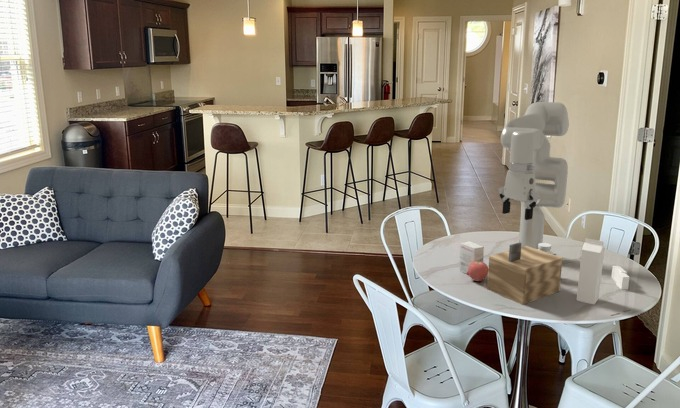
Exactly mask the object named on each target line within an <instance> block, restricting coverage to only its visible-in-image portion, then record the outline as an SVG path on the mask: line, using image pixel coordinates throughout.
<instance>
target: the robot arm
mask: <svg viewBox="0 0 680 408" xmlns="http://www.w3.org/2000/svg"><path fill="white" fill-rule="evenodd" d="M569 124H570V123H569V114H568V109H567V107H566V106H565V104H563V103H562V102H555V101H554V102H553V101H552V102H551V101H550V102H547V101H538V102H537V101H535V102H533V103H531V104H530V105H529V106H528V107H527V109H526V110H525V113H524V115H521V116H518V117H515V118H513V119H510V120H509V121H507V122H506V123H505V125H504V127H503V129H502V131H501V134H500V144H501V146H502V147H503V148H505V149H508V150H510V152H509V167H508V169H507V172H506V176H505V181H504V185H503V186H501V187H498V188H497V190H498V193H499V198H500V199H501V202H502V212H501V213H502V214H504V215H505V214H509V213H510V212H511V200H512V201H516V202H520V206H521V207H520V221H519V222H520V223H519V234H518V235H519V236H518V237H519V238H518V243H519V242H520V243H522V245H521V247H524V246H528V247H531V248H534V249H537V250H538V249H539V248H538V244H539V243H544V242H543V241H544V229H545V220H546V219H545V214H544V212H543V210H542V209H541V207H543V208H553V209H556V208H557V209H560V208H561V207H563V206H564V205H565V201H566V200H565V199H566V193H567V182H568V172H569V170H568V169H569V167H568V162H567V160H566V159H564V158H562V157H551V154H550V153H551V143H550V140H549V139H548V138H547V136H549V137H550V136H551V137H554V136H555V137H562V136H565V135H566V134H567V133H568V130H569V126H570V125H569ZM536 180H537V181H551V182H553V184H551V183H545V182H543V183H542V182H536Z"/></svg>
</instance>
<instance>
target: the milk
mask: <svg viewBox="0 0 680 408" xmlns="http://www.w3.org/2000/svg"><path fill="white" fill-rule="evenodd" d="M604 255H605V246H604V241H603V240H598V239H591V238H584V243H583V245H582V248H581V254H580V265H579V271H578V272H579V273H578V282H577V283H578V284H577V293H576V301H577V302H582V303H585V304H590V305H596V303H597V302H598V300H599V298H600V290H601V283H602V282H601V281H602V273H603V264H604V258H605V257H604Z"/></svg>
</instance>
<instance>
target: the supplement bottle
mask: <svg viewBox="0 0 680 408" xmlns="http://www.w3.org/2000/svg"><path fill="white" fill-rule="evenodd" d="M538 248H539V249H538V250H540V251H543V252H546V253H549V254H553V255H554V253H553V251H552V250H551V249H552V244H551V243H548V242H543V243H539V244H538Z"/></svg>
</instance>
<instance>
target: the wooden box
mask: <svg viewBox="0 0 680 408" xmlns="http://www.w3.org/2000/svg"><path fill="white" fill-rule="evenodd" d="M562 268H563V259H562V260H561V261H558V262H554V263H551V264H548V265H545V266H542V267H538V268H535V269H532V270H529V271H526V272H525V271H522V270H520V269H517V268H514V267H512V266H509V265H506V264H504V263H501V262H498V261H496V260H493V259H490V258H488V274H487V287H486V289H487V290H488V291H491V292H493V293H495V294H497V295H499V296H502V297H504V298H506V299H509V300H511V301H513V302H515V303H518V304H520V305H525V304H526V305H527V304H528V303H532V302H534V301H536V300H539V299H542V298H545V297H547V296H551V295H553V294H554V295H555V293H559V292H560V289H561V288H560V287H561V280H562V279H561V278H562Z"/></svg>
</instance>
